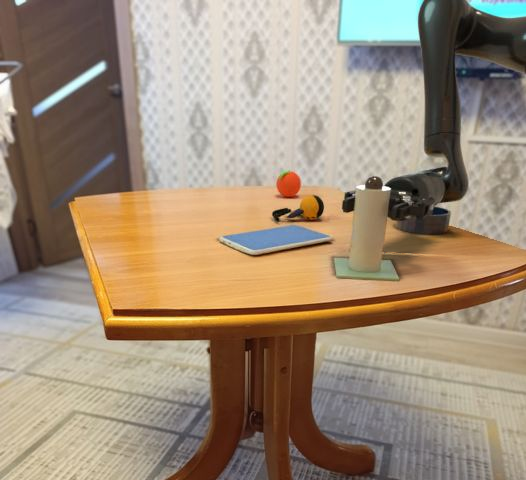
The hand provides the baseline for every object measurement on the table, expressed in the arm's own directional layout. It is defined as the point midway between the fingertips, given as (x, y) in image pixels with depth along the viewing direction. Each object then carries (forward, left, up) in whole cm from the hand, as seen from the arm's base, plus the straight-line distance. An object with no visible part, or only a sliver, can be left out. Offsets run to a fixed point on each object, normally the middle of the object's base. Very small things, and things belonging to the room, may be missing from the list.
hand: (369, 209), depth 80 cm
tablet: (+15, -16, -11) cm, 25 cm away
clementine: (+15, -65, -10) cm, 68 cm away
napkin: (-1, -1, -10) cm, 10 cm away
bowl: (-16, -31, -10) cm, 36 cm away
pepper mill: (-1, -1, -10) cm, 10 cm away
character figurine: (+11, -37, -10) cm, 40 cm away
